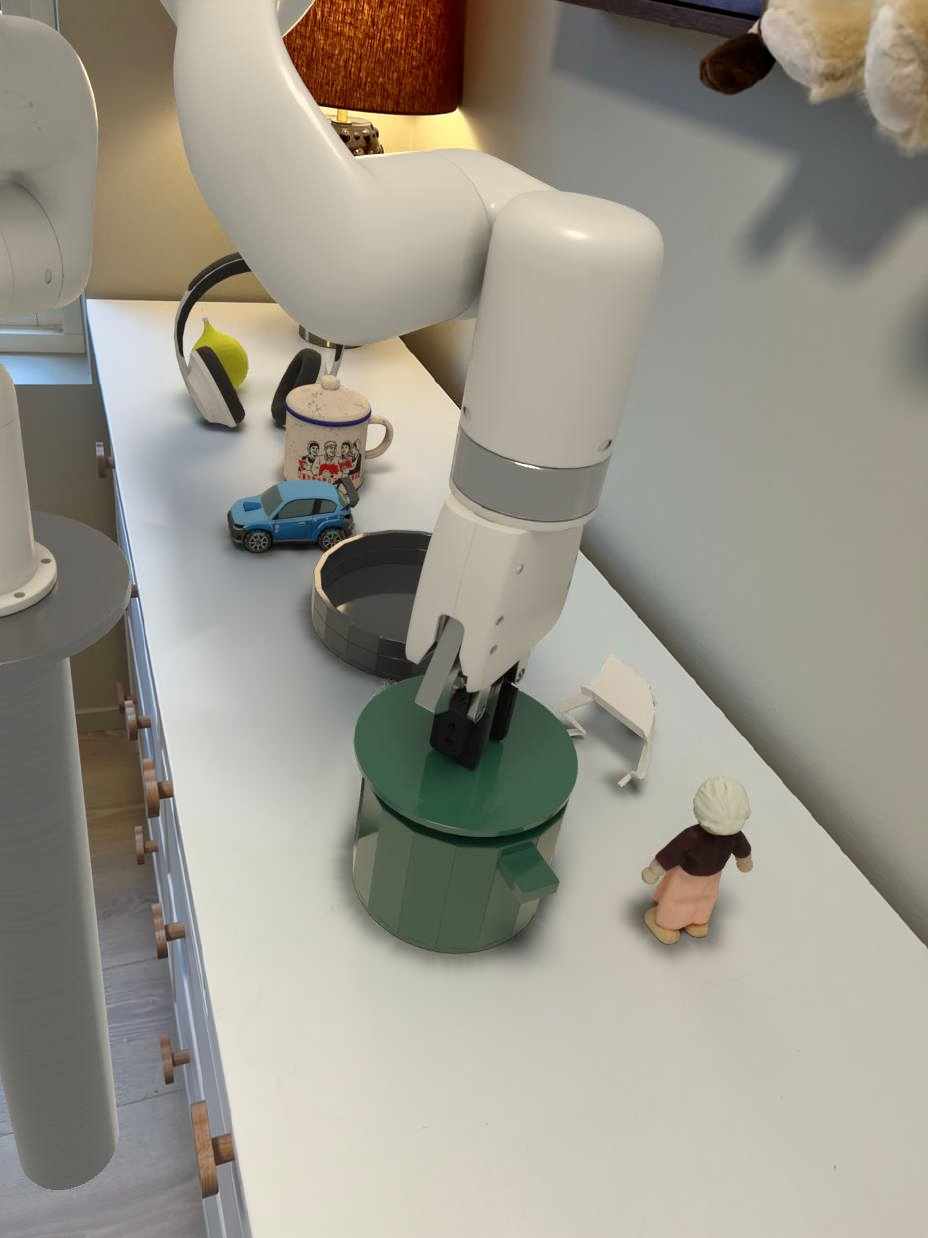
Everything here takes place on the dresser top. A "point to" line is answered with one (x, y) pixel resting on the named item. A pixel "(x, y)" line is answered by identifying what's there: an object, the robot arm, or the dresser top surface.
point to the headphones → (209, 374)
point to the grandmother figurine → (699, 861)
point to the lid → (448, 791)
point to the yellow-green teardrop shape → (225, 352)
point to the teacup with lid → (329, 433)
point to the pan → (370, 600)
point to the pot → (449, 878)
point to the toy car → (294, 515)
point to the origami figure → (618, 705)
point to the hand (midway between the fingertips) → (468, 740)
